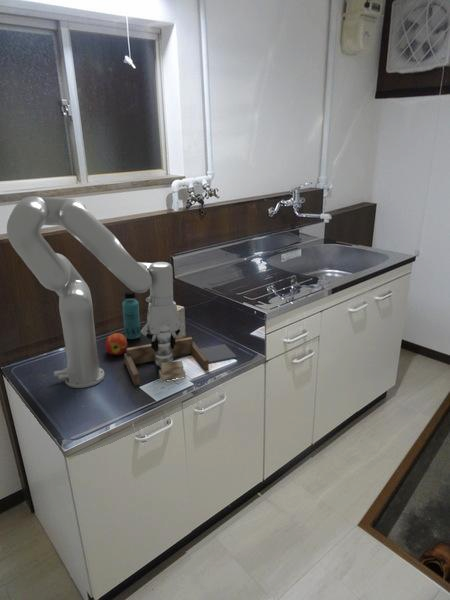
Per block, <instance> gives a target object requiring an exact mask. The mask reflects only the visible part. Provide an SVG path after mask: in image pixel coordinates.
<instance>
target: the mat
mask: <svg viewBox="0 0 450 600" xmlns="http://www.w3.org/2000/svg"><path fill="white" fill-rule="evenodd" d="M199 349H200V350H201V351H202V353H203V354H204V355H205V356H206V358H207V359H208V360H209V364H213V363H219V362H222V361H228V360H233V359H237V355H236V354H235V353H234V352H233V351H232V350H231V349H230V348H229V347H228V346H227V344H224V343H223V344H217V345H214V346H213V345H211V346H209V347H202V348H199Z"/></svg>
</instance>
